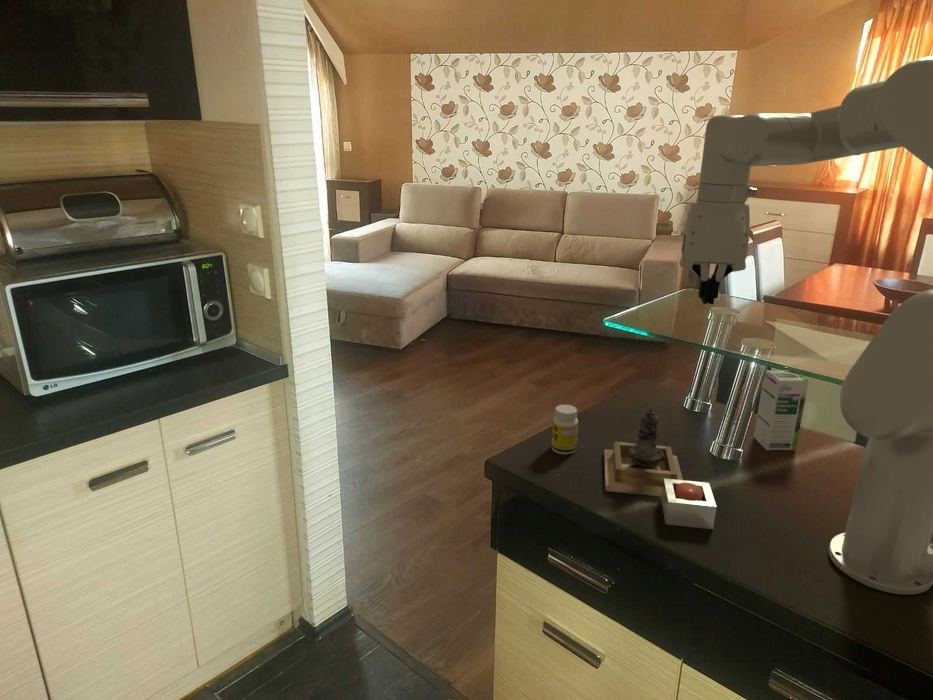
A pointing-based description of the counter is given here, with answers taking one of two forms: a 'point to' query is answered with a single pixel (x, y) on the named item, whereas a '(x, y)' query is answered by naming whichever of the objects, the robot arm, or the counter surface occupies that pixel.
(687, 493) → the button
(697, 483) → the button box
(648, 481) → the open wooden tray
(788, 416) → the syrup box
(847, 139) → the robot arm
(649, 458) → the dark stone statuette
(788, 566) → the counter surface
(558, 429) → the supplement bottle
